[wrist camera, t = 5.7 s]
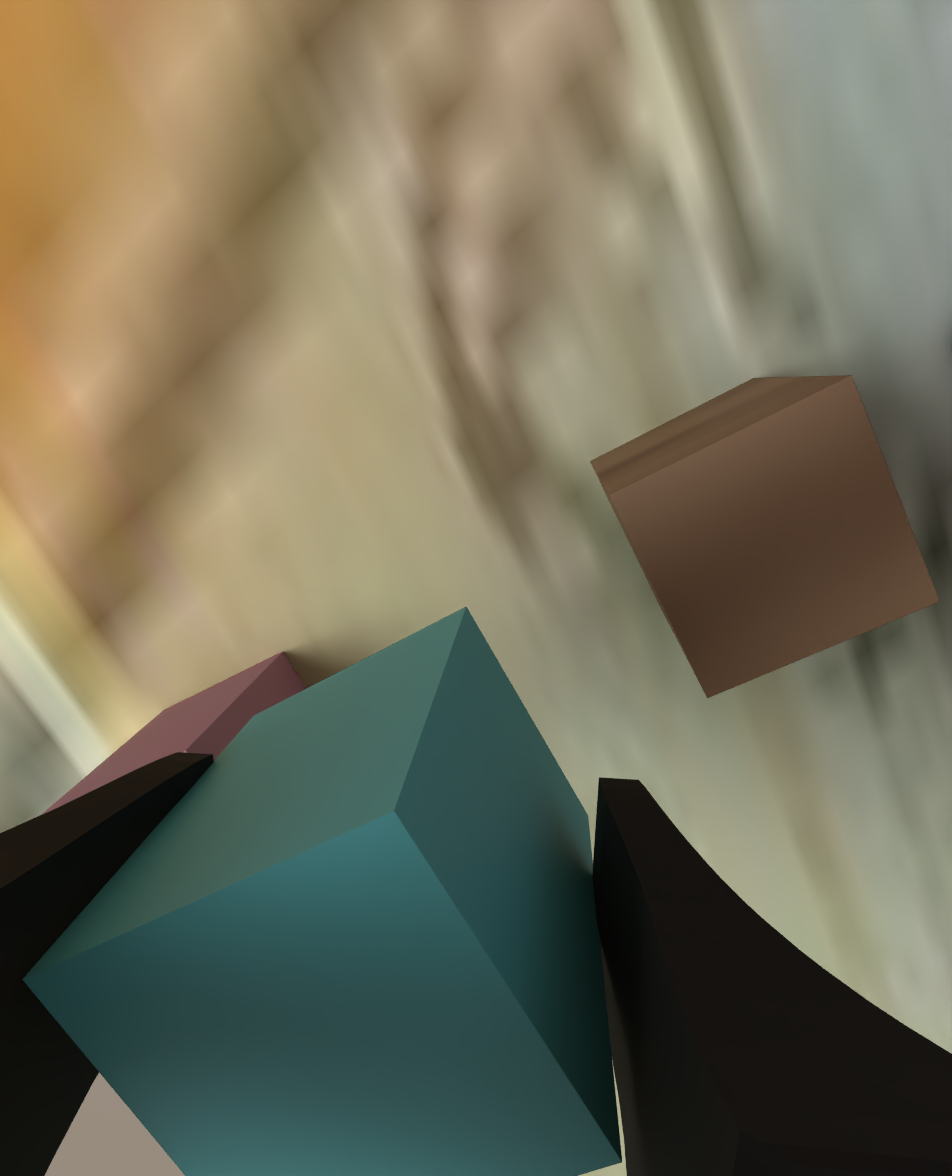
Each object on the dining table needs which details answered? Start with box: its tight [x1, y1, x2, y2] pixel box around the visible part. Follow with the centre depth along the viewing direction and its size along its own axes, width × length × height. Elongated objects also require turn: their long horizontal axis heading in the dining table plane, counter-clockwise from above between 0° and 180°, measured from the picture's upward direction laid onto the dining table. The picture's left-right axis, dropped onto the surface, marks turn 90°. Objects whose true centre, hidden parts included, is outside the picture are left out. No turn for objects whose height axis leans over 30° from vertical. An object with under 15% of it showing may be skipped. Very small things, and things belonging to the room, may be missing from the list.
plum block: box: [43, 652, 306, 814], centre depth 19 cm, size 4×4×6 cm
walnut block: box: [590, 375, 939, 698], centre depth 16 cm, size 4×4×6 cm
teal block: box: [22, 607, 622, 1176], centre depth 10 cm, size 4×4×6 cm
